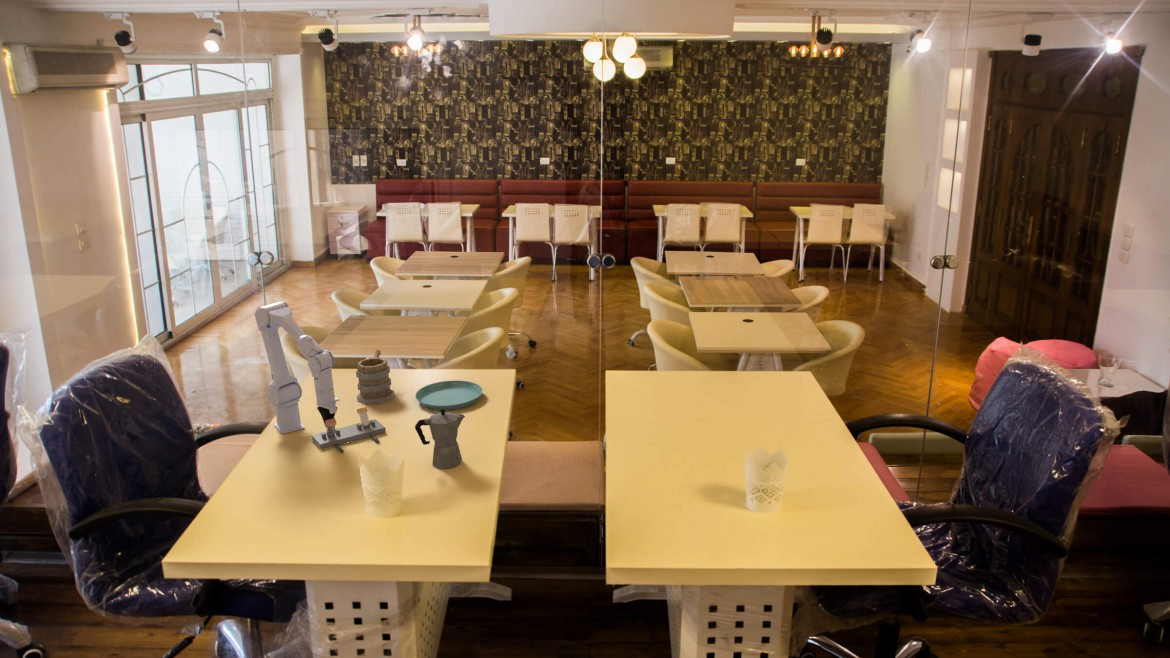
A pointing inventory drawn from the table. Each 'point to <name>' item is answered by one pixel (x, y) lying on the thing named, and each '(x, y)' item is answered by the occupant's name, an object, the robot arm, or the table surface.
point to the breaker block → (349, 435)
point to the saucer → (449, 395)
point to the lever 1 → (330, 426)
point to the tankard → (374, 380)
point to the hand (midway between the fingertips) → (329, 426)
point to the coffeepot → (443, 438)
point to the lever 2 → (363, 417)
